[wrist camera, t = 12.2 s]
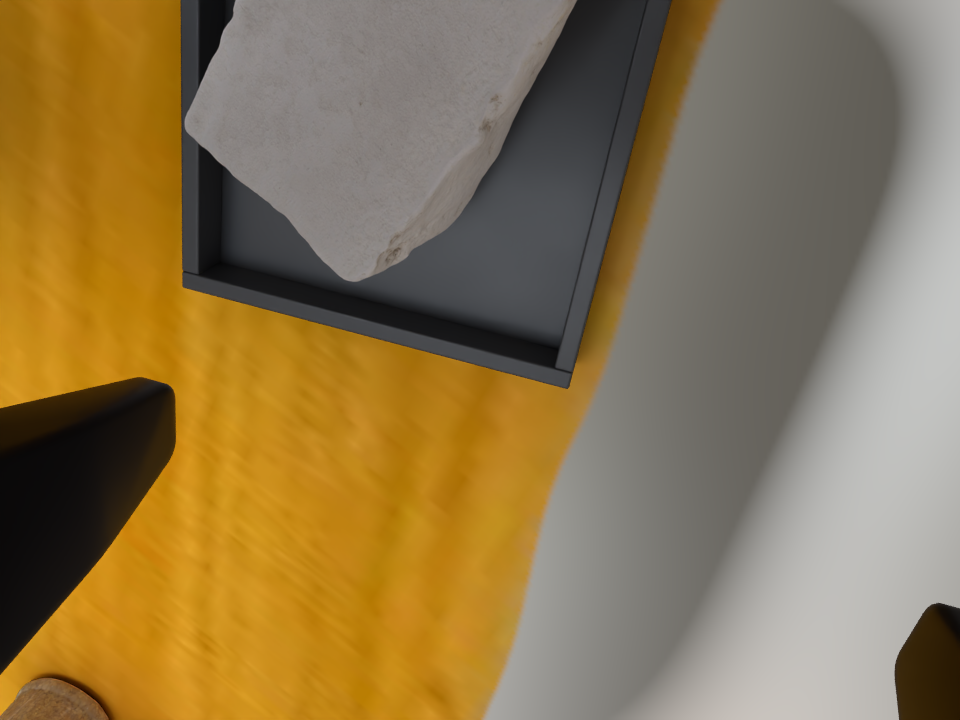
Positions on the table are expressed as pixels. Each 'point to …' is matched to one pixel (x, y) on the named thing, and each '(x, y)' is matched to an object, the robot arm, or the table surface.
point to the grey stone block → (370, 112)
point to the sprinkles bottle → (53, 703)
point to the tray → (479, 228)
